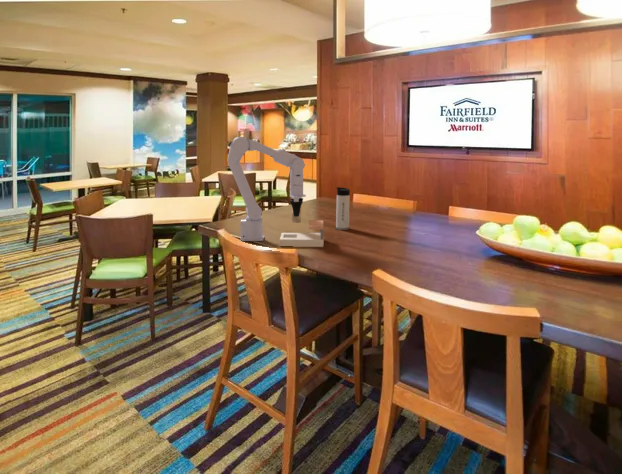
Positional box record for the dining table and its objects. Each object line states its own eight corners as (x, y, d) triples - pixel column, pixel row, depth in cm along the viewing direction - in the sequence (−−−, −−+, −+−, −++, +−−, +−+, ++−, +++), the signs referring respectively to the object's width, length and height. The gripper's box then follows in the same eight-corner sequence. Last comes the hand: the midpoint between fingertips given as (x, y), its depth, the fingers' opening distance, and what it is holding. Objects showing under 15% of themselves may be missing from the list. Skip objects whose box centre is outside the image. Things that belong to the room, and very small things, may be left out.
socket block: (279, 246, 176) (279, 226, 173) (281, 239, 188) (281, 220, 186) (323, 247, 175) (323, 226, 173) (322, 239, 188) (322, 220, 186)
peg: (292, 222, 188) (292, 204, 187) (292, 220, 192) (292, 203, 190) (301, 222, 189) (301, 204, 187) (301, 220, 192) (301, 203, 190)
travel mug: (340, 226, 213) (341, 186, 208) (351, 228, 209) (352, 187, 204) (332, 228, 209) (333, 187, 204) (344, 230, 205) (345, 189, 200)
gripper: (305, 186, 179) (305, 218, 183) (305, 182, 194) (305, 212, 197) (288, 186, 179) (289, 218, 183) (290, 182, 193) (290, 212, 197)
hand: (296, 215), depth 190 cm, fingers closed on peg, 4 cm apart
